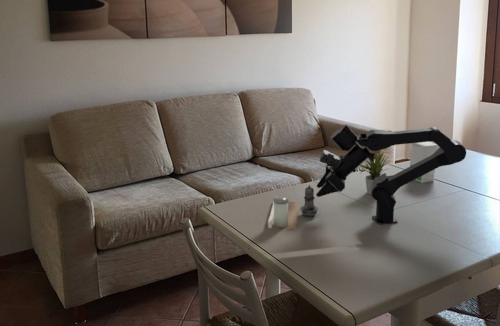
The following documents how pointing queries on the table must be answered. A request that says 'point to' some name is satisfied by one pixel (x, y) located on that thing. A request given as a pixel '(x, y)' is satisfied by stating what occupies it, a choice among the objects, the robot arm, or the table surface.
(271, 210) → the rail
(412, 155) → the skincare box
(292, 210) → the shelf board
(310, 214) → the grey chess piece
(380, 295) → the table surface
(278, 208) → the sage ceramic jar
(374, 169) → the house plant
